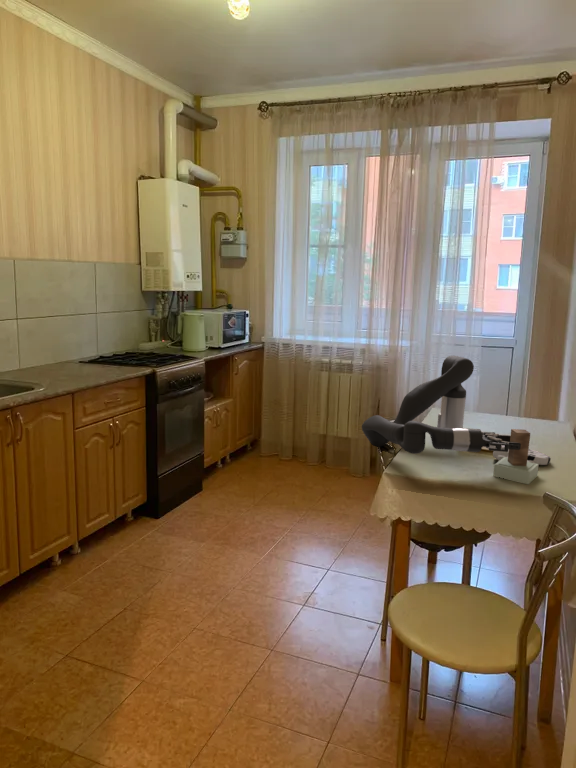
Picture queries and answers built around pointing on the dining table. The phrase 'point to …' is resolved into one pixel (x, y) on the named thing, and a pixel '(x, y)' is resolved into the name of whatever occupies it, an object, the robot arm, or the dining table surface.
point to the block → (520, 455)
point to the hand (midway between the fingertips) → (515, 442)
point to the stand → (515, 471)
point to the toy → (532, 456)
